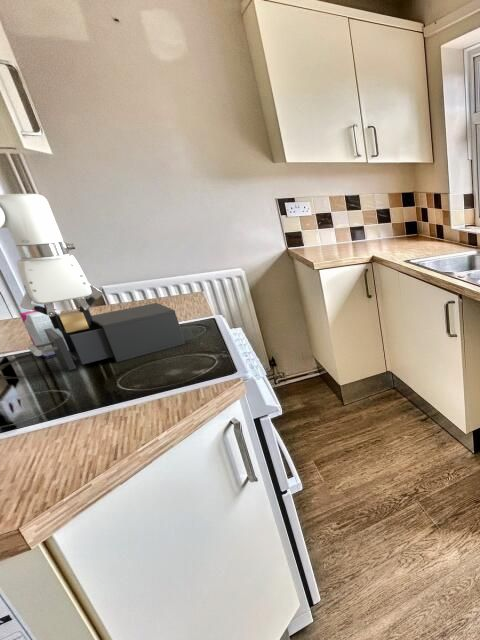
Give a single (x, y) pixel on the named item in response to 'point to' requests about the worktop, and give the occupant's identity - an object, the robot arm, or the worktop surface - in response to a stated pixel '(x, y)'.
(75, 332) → the dark grey box
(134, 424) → the worktop surface
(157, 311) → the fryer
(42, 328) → the supplement box
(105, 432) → the worktop surface
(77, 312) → the block
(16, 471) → the worktop surface
